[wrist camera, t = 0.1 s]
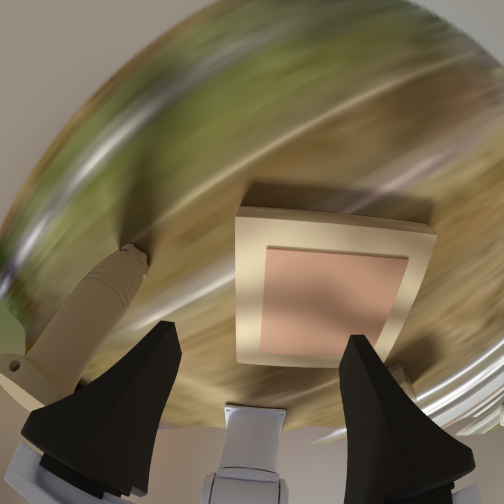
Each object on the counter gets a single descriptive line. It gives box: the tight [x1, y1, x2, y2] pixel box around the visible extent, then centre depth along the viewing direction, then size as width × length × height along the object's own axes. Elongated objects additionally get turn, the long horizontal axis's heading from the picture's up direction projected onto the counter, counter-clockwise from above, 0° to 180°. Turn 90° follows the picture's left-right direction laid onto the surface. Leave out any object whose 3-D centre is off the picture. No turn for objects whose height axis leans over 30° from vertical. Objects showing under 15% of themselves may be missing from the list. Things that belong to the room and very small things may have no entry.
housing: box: [387, 361, 419, 407], centre depth 24 cm, size 4×7×6 cm, turn 39°
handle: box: [0, 244, 149, 412], centre depth 15 cm, size 5×6×15 cm
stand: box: [235, 206, 438, 368], centre depth 20 cm, size 14×14×2 cm
